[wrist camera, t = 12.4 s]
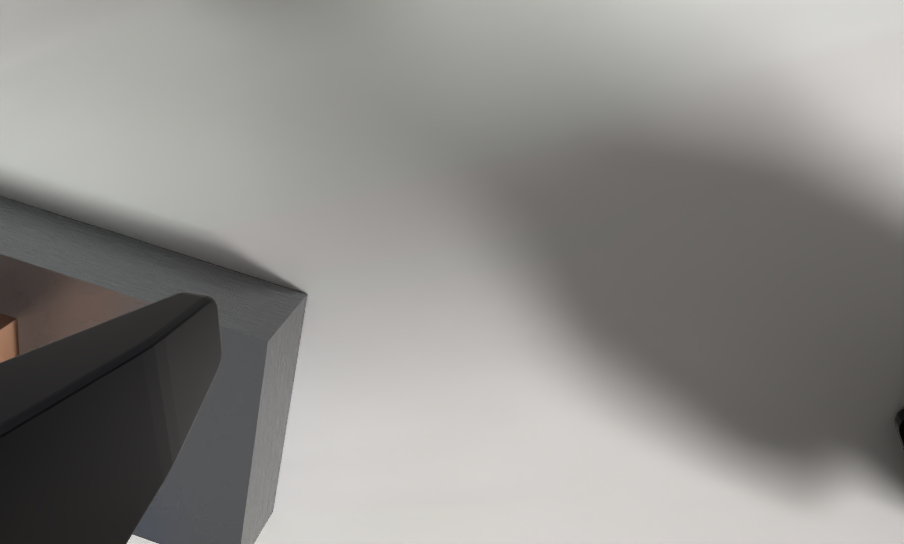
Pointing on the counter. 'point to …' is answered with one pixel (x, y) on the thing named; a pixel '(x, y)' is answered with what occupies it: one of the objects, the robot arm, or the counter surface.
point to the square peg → (8, 337)
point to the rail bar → (234, 386)
